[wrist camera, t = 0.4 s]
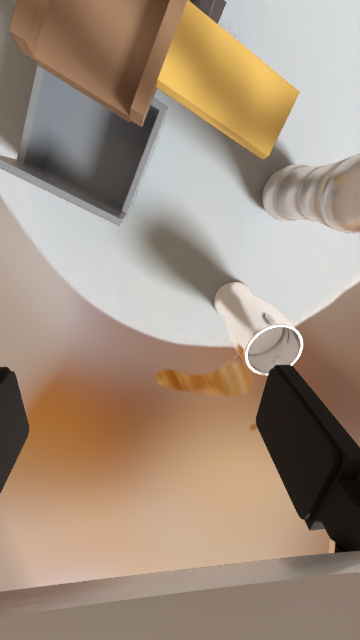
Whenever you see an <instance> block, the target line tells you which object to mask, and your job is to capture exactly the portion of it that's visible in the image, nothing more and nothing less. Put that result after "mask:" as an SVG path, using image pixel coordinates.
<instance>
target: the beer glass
mask: <svg viewBox="0 0 360 640" xmlns="http://www.w3.org/2000/svg"><path fill="white" fill-rule="evenodd" d="M214 306H215V309H216V311H217V312H218V313H219V314H220V315H221V316H222V317H224V319H225V323H226V328H227V332H228V335H229V338H230V340H231V342H232V344H233V346H234V348H235V349H236V351H237V352H238V354H239V355H240V356H241V358H242V359H243V360H244V362H245V363H246V365H247V366H248V368H249V369H250V370H251V371H253V372H255V373H257V374H260V375H268V374H269V371H270V369H272V368H274V366H275V365H293V364H294V363H295V362H296V360H297V359H298V358H299V356H300V354H301V352H302V348H303V340H302V336H301V334H300V333H299V331H298V330H297V329H295V327H294V326H293V325H292V324H291V323H290V322H289V320H288V319H287V318H286V317H285V316H284V315H283V314H282V313H281V312H280V311H278V310H277V309H276V308H275V307H273V306H272V305H270V304H268V303H266V302H265V301H262V300H260V299H258V298H256V297H254V296H252V293H251V291H250V290H249V288H248V287H247V286H246V285H244V284H243V283H240V282H230V283H227V284H225V285H223V286H222V287H221V288H220V289H219V290H218V291H217V293H216V295H215V298H214Z"/></svg>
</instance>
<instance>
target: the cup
mask: <svg viewBox="0 0 360 640" xmlns="http://www.w3.org/2000/svg"><path fill="white" fill-rule="evenodd" d="M167 109H168V107H167V106H165V105H164V104H162V103H161V102H159V101H158V100H156V99H155V98H153V100H152V102H151V105H150V108H149V110H148V113H147V116H146V118H145V121H144V123H143V126H142V127H141V126H139V125H138V124H136V123H134V122H133V121H131V122H128V121H127V120H125V119H123V118H122V117H120V116H118V115H117V114H115V113H114V112H112V111H110V110H109V109H107V108H106V107H104V106H102V105H101V104H99V103H97V102H96V101H94V100H93V99H91V98H89V97H88V96H86V95H84V94H83V93H81V92H80V91H78V90H76V89H75V88H73V87H71V86H70V85H68V84H67V83H65V82H63V81H62V80H60V79H59V78H57V77H55V76H54V75H52V74H50V73H49V72H47V71H46V70H44V69H42V68H41V67H39V66H38V64H37V69H36V74H35V78H34V83H33V87H32V92H31V97H30V101H29V106H28V111H27V115H26V120H25V124H24V129H23V134H22V138H21V143H20V148H19V152H18V157H17V159H13V158H9V157H5V156H1V155H0V169H3V170H5V171H7V172H9V173H11V174H13V175H15V176H17V177H19V178H21V179H23V180H25V181H27V182H29V183H31V184H33V185H36V186H38V187H40V188H42V189H44V190H46V191H48V192H50V193H52V194H54V195H56V196H58V197H60V198H62V199H64V200H67V201H69V202H71V203H73V204H75V205H77V206H79V207H81V208H83V209H85V210H87V211H89V212H91V213H93V214H95V215H98V216H100V217H102V218H104V219H106V220H108V221H110V222H112V223H114V224H116V225H118V226H120V225H121V224H122V222H123V221H124V220H125V218H126V217H127V216H128V213H129V211H130V208H131V206H132V203H133V201H134V198H135V195H136V193H137V190H138V188H139V185H140V183H141V180H142V177H143V175H144V172H145V170H146V167H147V165H148V162H149V159H150V157H151V154H152V152H153V149H154V147H155V144H156V141H157V139H158V136H159V134H160V131H161V129H162V126H163V123H164V120H165V116H166V113H167Z"/></svg>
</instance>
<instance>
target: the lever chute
mask: <svg viewBox="0 0 360 640" xmlns="http://www.w3.org/2000/svg"><path fill="white" fill-rule="evenodd" d="M9 31H10V33H11V35H12V37H13V39H14V40H15V42H16V44H17V46H18V48H19V49H20V51H21V53H23V54H25V55H26V56H28V57H30V58H31V59H33V60H34V61H36V62H37V64H38V66H39V67H41V68H42V69H44V70H46V71H47V72H49V73H50V74H52V75H54V76H55V77H57V78H59V79H60V80H62V81H63V82H65V83H67V84H68V85H70V86H71V87H73V88H75V89H76V90H78V91H80V92H81V93H83V94H84V95H86V96H88V97H89V98H91V99H93V100H94V101H96V102H97V103H99V104H101V105H102V106H104V107H106V108H107V109H109V110H110V111H112V112H114V113H115V114H117V115H118V116H120V117H122V118H123V119H125V120H127V121H128V122H131V121H133V122H134V123H136V124H138V125H139V126H141V127H142V126H143V123H144V121H145V118H146V116H147V113H148V110H149V108H150V105H151V102H152V100H153V97H154V95H155V92H156V89H157V88H158V89H160V90H161V91H163V92H164V93H165V94H167V95H168V96H170V97H171V98H173V99H174V100H176V101H177V102H179V103H180V104H182V105H183V106H185V107H186V108H187V109H189V110H190V111H192V112H193V113H195V114H196V115H198V116H199V117H201V118H202V119H204V120H205V121H207V122H208V123H209V124H211V125H212V126H214V127H215V128H217V129H218V130H220V131H221V132H223V133H224V134H226V135H227V136H229V137H230V138H231V139H233V140H234V141H236V142H237V143H239V144H240V145H242V146H243V147H245V148H246V149H248V150H249V151H251V152H252V153H253V154H255V155H256V156H258V157H259V158H261V159H262V160H263V159H265V158H267V157H268V156H269V155H270V153H271V151H272V148H273V146H274V144H275V142H276V140H277V138H278V136H279V134H280V132H281V130H282V128H283V126H284V123H285V121H286V119H287V117H288V115H289V113H290V111H291V109H292V107H293V105H294V103H295V101H296V98H297V96H298V94H299V91H298V90H297V89H296V88H294V87H293V86H292V85H291V84H289V83H288V82H287V81H286V80H285V79H283V78H282V77H281V76H280V75H279V74H277V73H276V72H275V71H274V70H272V69H271V68H270V67H269V66H268V65H266V64H265V63H264V62H263V61H262V60H260V59H259V58H258V57H257V56H256V55H254V54H253V53H252V52H251V51H249V50H248V49H247V48H246V47H245V46H243V45H242V44H241V43H240V42H239V41H237V40H236V39H235V38H234V37H232V36H231V35H230V34H229V33H228V32H226V31H225V30H224V29H223V28H222V27H220V26H219V25H218V24H217V23H216V22H214V21H213V20H212V19H211V18H209V17H208V16H207V15H206V14H205V13H203V12H202V11H201V10H200V9H199V8H197V7H196V6H195V5H194V4H192V3H191V2H190V0H17V2H16V5H15V9H14V13H13V17H12V21H11V24H10V28H9Z"/></svg>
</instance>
